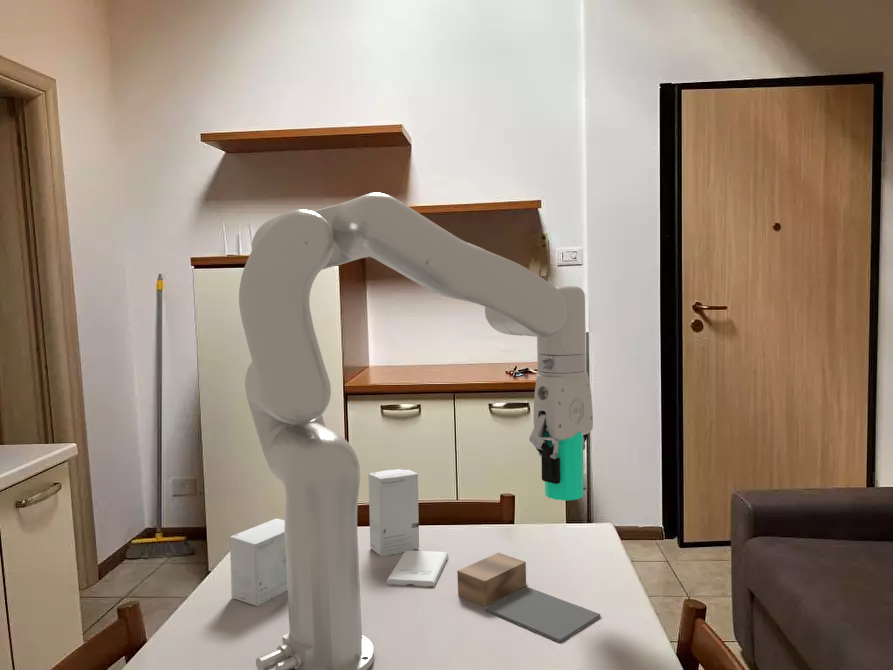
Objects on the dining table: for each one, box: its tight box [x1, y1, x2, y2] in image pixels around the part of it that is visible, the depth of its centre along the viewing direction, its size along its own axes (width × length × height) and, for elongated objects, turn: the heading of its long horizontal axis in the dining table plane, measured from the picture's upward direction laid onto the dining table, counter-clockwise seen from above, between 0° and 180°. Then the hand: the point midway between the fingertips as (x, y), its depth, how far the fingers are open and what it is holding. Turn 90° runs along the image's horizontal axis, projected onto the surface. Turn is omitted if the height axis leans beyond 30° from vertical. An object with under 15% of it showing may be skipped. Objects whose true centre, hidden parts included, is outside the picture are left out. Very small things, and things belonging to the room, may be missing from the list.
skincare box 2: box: [367, 468, 420, 558], centre depth 131 cm, size 8×6×15 cm
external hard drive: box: [386, 550, 449, 588], centre depth 121 cm, size 2×8×12 cm
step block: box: [456, 552, 527, 607], centre depth 112 cm, size 10×6×4 cm, turn 134°
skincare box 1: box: [229, 518, 288, 607], centre depth 115 cm, size 10×6×10 cm, turn 148°
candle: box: [544, 431, 584, 501], centre depth 109 cm, size 6×6×12 cm
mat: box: [485, 586, 601, 643], centre depth 104 cm, size 10×14×1 cm
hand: (562, 476), depth 109 cm, fingers closed on candle, 5 cm apart
